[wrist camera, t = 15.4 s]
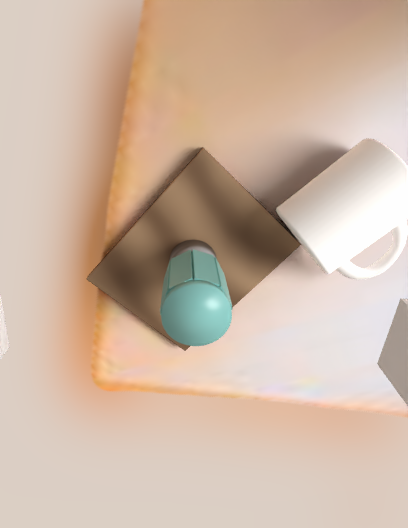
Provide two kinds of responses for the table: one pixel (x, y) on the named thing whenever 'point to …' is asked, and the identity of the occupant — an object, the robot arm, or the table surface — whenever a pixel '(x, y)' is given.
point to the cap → (195, 299)
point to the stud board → (194, 219)
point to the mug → (352, 210)
